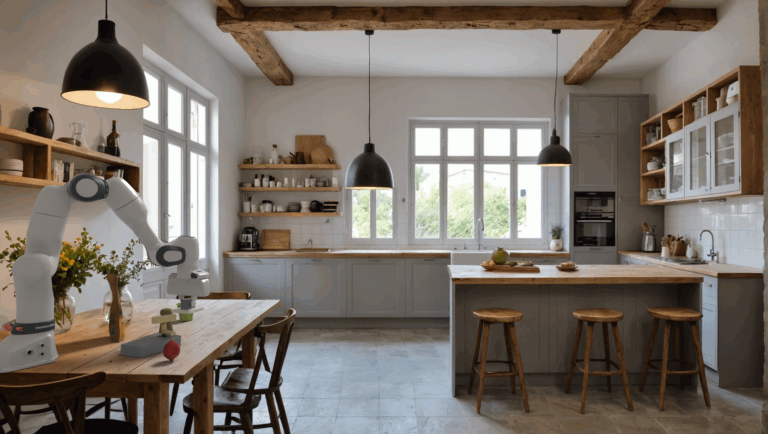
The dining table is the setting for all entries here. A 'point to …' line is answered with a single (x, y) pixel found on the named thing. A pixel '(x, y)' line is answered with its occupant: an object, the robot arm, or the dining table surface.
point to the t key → (164, 323)
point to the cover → (187, 307)
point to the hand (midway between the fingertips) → (187, 306)
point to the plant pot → (185, 316)
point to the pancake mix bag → (115, 312)
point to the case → (148, 345)
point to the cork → (168, 324)
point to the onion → (171, 350)
